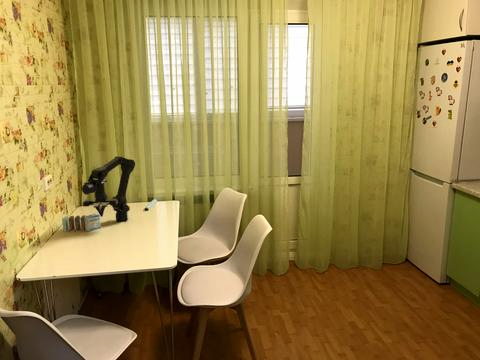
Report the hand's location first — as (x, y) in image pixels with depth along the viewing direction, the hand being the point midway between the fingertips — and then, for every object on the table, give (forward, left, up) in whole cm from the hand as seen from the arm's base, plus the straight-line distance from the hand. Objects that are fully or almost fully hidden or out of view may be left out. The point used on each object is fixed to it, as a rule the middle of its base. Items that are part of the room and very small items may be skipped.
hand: (101, 216), depth 232 cm
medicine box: (+6, 0, -8) cm, 10 cm away
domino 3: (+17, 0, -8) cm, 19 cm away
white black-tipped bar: (-21, -45, -8) cm, 50 cm away
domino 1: (+11, 0, -8) cm, 13 cm away
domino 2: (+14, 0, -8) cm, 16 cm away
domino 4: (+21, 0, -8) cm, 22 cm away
